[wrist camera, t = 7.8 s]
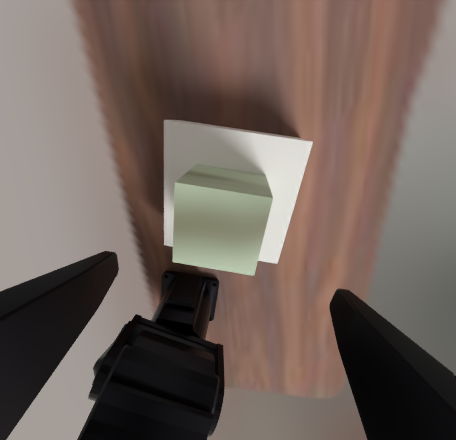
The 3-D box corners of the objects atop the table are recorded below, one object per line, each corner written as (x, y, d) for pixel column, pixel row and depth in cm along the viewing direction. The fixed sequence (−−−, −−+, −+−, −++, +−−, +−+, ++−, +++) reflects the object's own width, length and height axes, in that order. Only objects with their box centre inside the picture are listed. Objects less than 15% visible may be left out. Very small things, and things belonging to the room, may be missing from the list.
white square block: (272, 240, 22) (277, 263, 18) (177, 224, 22) (163, 245, 18) (299, 137, 17) (312, 141, 14) (181, 120, 18) (163, 119, 14)
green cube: (252, 235, 17) (253, 275, 13) (192, 225, 17) (172, 261, 13) (265, 174, 15) (273, 198, 10) (196, 163, 15) (174, 182, 11)
